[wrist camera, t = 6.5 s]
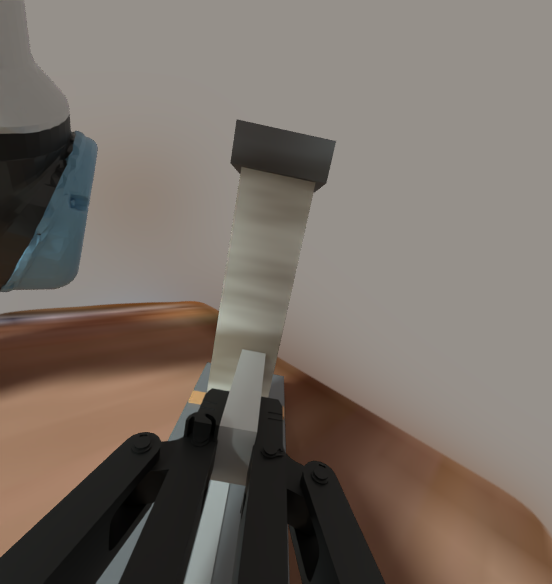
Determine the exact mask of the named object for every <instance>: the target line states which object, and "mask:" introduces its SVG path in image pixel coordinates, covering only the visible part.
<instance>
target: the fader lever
mask: <svg viewBox="0 0 552 584" xmlns="http://www.w3.org/2000/svg"><path fill="white" fill-rule="evenodd" d="M335 143H336V141H332V140H328V139H323V138H319V137H314V136H309V135H305V134H300V133H296V132H291V131H287V130H282V129H278V128H273V127H269V126H264V125H260V124H255V123H250V122H246V121H241V120H237V121H236V129H235V135H234V142H233V149H232V156H231V164H232V165H233V166H234V167H235V169H236V170H237V171H238V172H239V173H240V180H239V186H238V193H237V200H236V206H235V213H234V219H233V225H232V232H231V238H230V245H229V251H228V258H227V265H226V271H225V278H224V284H223V290H222V296H221V303H220V309H219V316H218V322H217V329H216V335H215V342H214V348H213V355H212V361H211V368H210V374H209V381H208V387H207V392H208V391H209V390H211V389H212V388H214V389H220V390H225V391H230V389H231V385H232V382H233V379H234V375H235V372H236V369H237V365H238V362H239V358H240V355H241V352H242V349H244V350H249V351H255V352H260V353H265V354H266V356H265V365H264V374H263V383H262V392H261V396H262V397H267V398H268V396H269V391H270V387H271V382H272V377H273V373H274V368H275V364H276V359H277V354H278V350H279V346H280V341H281V337H282V332H283V327H284V323H285V319H286V314H287V309H288V305H289V300H290V296H291V291H292V287H293V282H294V278H295V273H296V269H297V264H298V260H299V255H300V251H301V246H302V241H303V237H304V233H305V228H306V223H307V218H308V214H309V210H310V205H311V201H312V196H313V192H316V191H317V190H318V189H320V188H321V187H322V186H323V185H325V184H326V181H327V178H328V173H329V169H330V165H331V160H332V156H333V151H334V147H335Z"/></svg>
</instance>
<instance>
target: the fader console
mask: <svg viewBox="0 0 552 584" xmlns="http://www.w3.org/2000/svg"><path fill="white" fill-rule="evenodd" d="M210 368H211V363H208V362H207V364H206V366H205V368H204V370H203V372H202V374H201V376H200V378H199V380H198V382H197V384H196V386H195V388H194V390H193V392H192V394H191V396H190V398H189V400H188V402H187V404H186V406H185V408H184V410H183V412H182V414H181V416H180V418H179V420H178V422H177V424H176V426H175V428H174V430H173V432H172V433H171V435H170V437H169V439H168V441H172V440H177V439H179V438H181V437H183V436H184V429H185V422H186V419H187V418H188V416H189V415H191V414H192V413H194V412H198V410H199V408H200V405H201V403H202V401H203V398H204V396H205V394H206V393H207V387H208V381H209V374H210ZM268 398H272V399H278V400H279V401H280V403H281V405H282V407H283V415H282V416H283V448H284V449H285V452H286V441H285V405H284V376H279V375H274V374H273V377H272V382H271V387H270V391H269V396H268ZM244 491H245V486H243V485H237V484H232V483H226V482H220V481H214V480H210V482H209V487H208V493H207V496H206V500H205V504H204V508H203V512H202V515H201V519H200V523H199V527H198V530H197V534H196V538H195V542H194V545H193V549H192V553H191V557H190V561H189V564H188V568H187V572H186V576H185V579H184V583H183V584H231V581H232V574H233V567H234V560H235V552H236V545H237V538H238V531H239V523H240V516H241V513H240V510H241V505H242V500H243V496H244ZM153 504H154V503H153ZM153 504H152V506H151V507H150V509H149V510H148V512H147V513H146V514H145V516H144V517H143V519H142V520H141V521H140V523H139V524H138V526H137V527H136V528H135V530H134V531H133V532H132V534H131V535H130V537H129V538H128V539H127V541H126V542H125V544H124V545H123V546H122V548H121V549H120V550H119V552H118V553H117V555H116V556H115V557H114V559H113V560H112V562H111V563H110V564H109V566H108V567H107V569H106V570H105V571H104V573H103V574H102V575H101V577H100V578H99V580H98V581H97V582H96V584H118V583H119V581H120V579H121V576H122V574H123V572H124V570H125V567H126V565H127V563H128V561H129V558H130V556H131V554H132V552H133V549H134V547H135V545H136V543H137V540H138V538H139V536H140V534H141V531H142V529H143V527H144V525H145V522H146V520H147V518H148V516H149V513H150V511H151V509H152V507H153ZM287 539H288V524H287ZM288 584H289V550H288Z"/></svg>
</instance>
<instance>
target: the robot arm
mask: <svg viewBox="0 0 552 584" xmlns="http://www.w3.org/2000/svg"><path fill="white" fill-rule="evenodd" d="M69 116H70V115H69V105H68V101H67V99H66V97H65V95H64V94H63V93H62V91H61V90H60V89H59V88H58V87H57V86H56V85H55V84H54V82H53V81H51V79H50V78H49V77H48V76H47V75H46V74H45V73H44V71H43V70H42V69H41V68H40V67H39V66H38V65H37V64H36V63H35V61H34V59H33V57H32V54H31V52H30V44H29V36H28V28H27V21H26V12H25V4H24V0H0V292H9V291H11V290H32V289H33V290H35V289H37V290H38V289H57V288H60V287H63V286H65V285H67V284H69V283H70V282H71V281H73V280H74V278H75V277H76V275H77V273H78V269H79V263H80V257H81V252H82V246H83V239H84V232H85V226H86V219H87V212H88V206H89V201H90V195H91V188H92V183H93V177H94V171H95V164H96V157H97V151H98V147H97V144H96V143H95V141H94V140H92V139H90V138H88V137H85V135H84V134H83V133H81V132H79V131H75V132H71V130H70V117H69ZM265 356H266V354H265V353H260V352H255V351H249V350H244V349H242V352H241V355H240V358H239V362H238V365H237V369H236V372H235V375H234V379H233V382H232V385H231V389H230V391H225V390H220V389H214V388H212V389H211V390H209V391H208V392H207V393H206V394H205V396H204V398H203V401H202V403H201V405H200V408H199V410H198V412H194V413H192V414H191V415H189V416H188V418H187V419H186V422H185V429H184V436H183V437H181V438H179V439H177V440H172V441H164V442H161V440H160V438H159V437H158V436H157V435H155V434H154V433H149V432H143V433H138V434H135V435H133V436H131V437H130V438H128V439H127V440H126V441H125V442H124V443H123V444H122V445H121V446H119V447H118V448H117V449H116V450H115V451H114V452H113V453H112V454H111V455H110V456H109V457H108V458H107V459H106V460H104V461H103V462H102V463H101V464H100V465H99V466H98V467H97V468H96V469H95V470H94V471H93V472H92V473H91V474H89V475H88V476H87V477H86V478H85V479H84V480H83V481H82V482H81V483H80V484H79V485H78V486H77V487H75V488H74V489H73V490H72V491H71V492H70V493H69V494H68V495H67V496H66V497H65V498H64V499H63V500H62V501H60V502H59V503H58V504H57V505H56V506H55V507H54V508H53V509H52V510H51V511H50V512H49V513H48V514H47V515H45V516H44V517H43V518H42V519H41V520H40V521H39V522H38V523H37V524H36V525H35V526H34V527H33V528H32V529H30V530H29V531H28V532H27V533H26V534H25V535H24V536H23V537H22V538H21V539H20V540H19V541H18V542H17V543H15V544H14V545H13V546H12V547H11V548H10V549H9V550H8V551H7V552H6V553H5V554H4V555H3V556H2V557H0V584H96V582H97V581H98V580H99V578H100V577H101V575H102V574H103V573H104V571H105V570H106V569H107V567H108V566H109V564H110V563H111V562H112V560H113V559H114V557H115V556H116V555H117V553H118V552H119V550H120V549H121V548H122V546H123V545H124V544H125V542H126V541H127V539H128V538H129V537H130V535H131V534H132V532H133V531H134V530H135V528H136V527H137V526H138V524H139V523H140V521H141V520H142V519H143V517H144V516H145V514H146V513H147V512H148V510H149V509H150V507H151V506H152V504H153V503H154V504H153V507H152V509H151V511H150V513H149V516H148V518H147V520H146V522H145V525H144V527H143V529H142V531H141V534H140V536H139V538H138V540H137V543H136V545H135V547H134V549H133V552H132V554H131V556H130V558H129V561H128V563H127V565H126V567H125V570H124V572H123V574H122V576H121V579H120V581H119V583H118V584H183V583H184V579H185V576H186V572H187V568H188V564H189V561H190V557H191V553H192V549H193V545H194V542H195V538H196V534H197V530H198V527H199V523H200V519H201V515H202V512H203V508H204V504H205V500H206V496H207V493H208V487H209V482H210V480H214V481H220V482H226V483H232V484H237V485H243V486H245V491H244V496H243V500H242V505H241V510H240V513H241V516H240V523H239V531H238V538H237V545H236V552H235V560H234V567H233V574H232V581H231V584H288V539H287V524H289V530H290V534H291V538H292V542H293V546H294V551H295V555H296V559H297V563H298V567H299V572H300V576H301V580H302V584H385V582H384V580H383V577H382V575H381V573H380V571H379V569H378V567H377V564H376V562H375V560H374V558H373V556H372V553H371V551H370V549H369V547H368V545H367V542H366V540H365V538H364V536H363V534H362V532H361V529H360V527H359V525H358V523H357V521H356V518H355V516H354V514H353V512H352V510H351V508H350V505H349V503H348V501H347V499H346V497H345V494H344V492H343V490H342V488H341V486H340V483H339V481H338V479H337V477H336V475H335V473H334V472H333V470H332V469H331V468H330V467H329V466H327V465H326V464H324V463H322V462H319V461H311V462H308V463H307V464H306V465H305V466H303V465H301V464H299V463H297V462H295V461H294V460H292V459H291V458H290V457H289V456H288V455H287V454H286V452H285V449H284V448H283V416H282V415H283V407H282V405H281V403H280V401H279V400H278V399H272V398H267V397H262V396H261V392H262V383H263V374H264V365H265Z"/></svg>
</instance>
